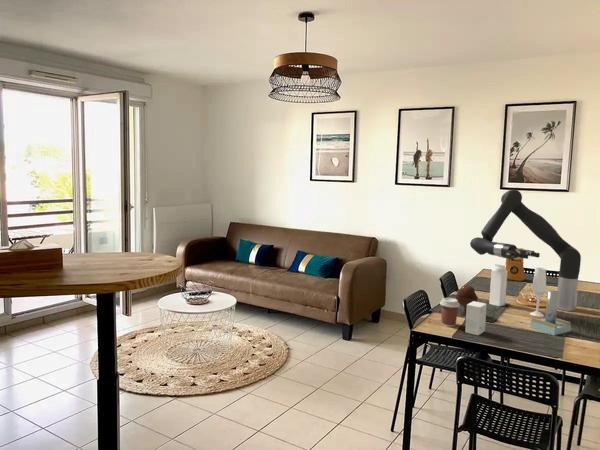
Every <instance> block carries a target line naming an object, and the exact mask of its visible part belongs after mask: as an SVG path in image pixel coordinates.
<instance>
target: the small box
mask: <svg viewBox="0 0 600 450" xmlns="http://www.w3.org/2000/svg"><path fill="white" fill-rule="evenodd" d="M486 316H487V303H484V302H479V301H477V302H475V301H473V302H471V303H469V304H467V310H466V316H465V330H464V332H465V333H467V334H470V335H474V336H479V335H481V334H483V333H484V332H486V319H487V317H486Z"/></svg>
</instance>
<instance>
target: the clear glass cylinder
mask: <svg viewBox="0 0 600 450" xmlns="http://www.w3.org/2000/svg"><path fill="white" fill-rule="evenodd" d="M546 292H547V293H546V308H545V314H544V318H545V322H548V323H552V324H556V318H557V313H558V312H557V311H558V309H557V304H558V293H559V292H557V290H552V289H550V290H547V291H546Z"/></svg>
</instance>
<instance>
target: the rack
mask: <svg viewBox="0 0 600 450" xmlns="http://www.w3.org/2000/svg"><path fill="white" fill-rule="evenodd" d="M529 328H531V329H533V330H537V331H540V332H543V333H546V334H549V335H551V336H558V335H562V334H565V333H569V332H571V329H572V325H571V321H567V320H564V319H561V318H557V317H556V324H552V323H548V322H545V317H544V318H541V319H540V318H539V319H538V318H535V317H531V321H530V326H529Z"/></svg>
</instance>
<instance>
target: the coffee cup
mask: <svg viewBox="0 0 600 450" xmlns="http://www.w3.org/2000/svg"><path fill="white" fill-rule="evenodd" d="M439 305H440V306H441V311H440V312H441V325H442V326H444V327H456V325H457V317H458V312H459V311H458V310H459V308H460V307H461V305H460V304H459V303H458V300H457V299H456V298H453V297H443V298H442V299H441V301H440V302H439Z"/></svg>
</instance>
